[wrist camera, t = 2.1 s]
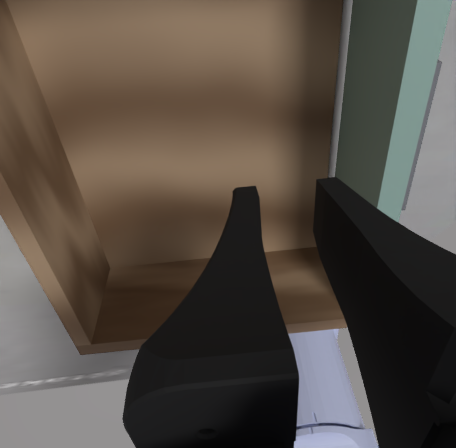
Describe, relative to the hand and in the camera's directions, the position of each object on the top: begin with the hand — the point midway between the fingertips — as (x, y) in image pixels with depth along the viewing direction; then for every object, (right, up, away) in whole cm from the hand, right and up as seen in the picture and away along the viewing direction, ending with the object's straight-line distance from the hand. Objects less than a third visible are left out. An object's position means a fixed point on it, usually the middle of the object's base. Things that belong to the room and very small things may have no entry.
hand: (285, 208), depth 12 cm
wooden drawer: (-4, +6, +7) cm, 10 cm away
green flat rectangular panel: (+4, +5, +6) cm, 9 cm away
